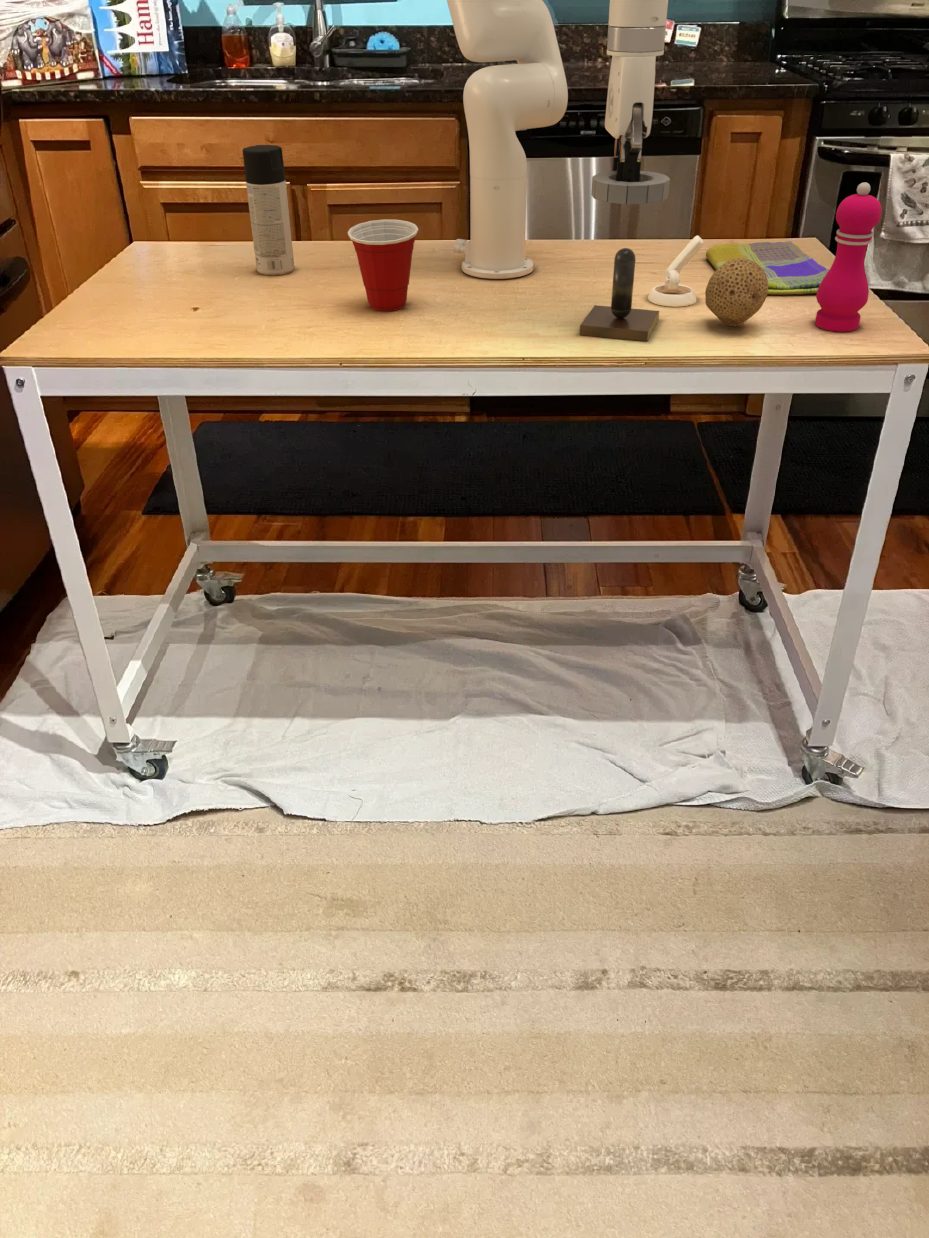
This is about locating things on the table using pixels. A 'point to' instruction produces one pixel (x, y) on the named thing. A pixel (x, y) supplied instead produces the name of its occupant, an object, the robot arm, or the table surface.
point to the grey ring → (630, 188)
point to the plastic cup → (385, 260)
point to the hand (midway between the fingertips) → (624, 188)
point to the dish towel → (775, 265)
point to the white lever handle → (677, 280)
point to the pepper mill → (848, 263)
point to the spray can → (268, 209)
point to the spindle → (621, 307)
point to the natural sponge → (736, 291)
